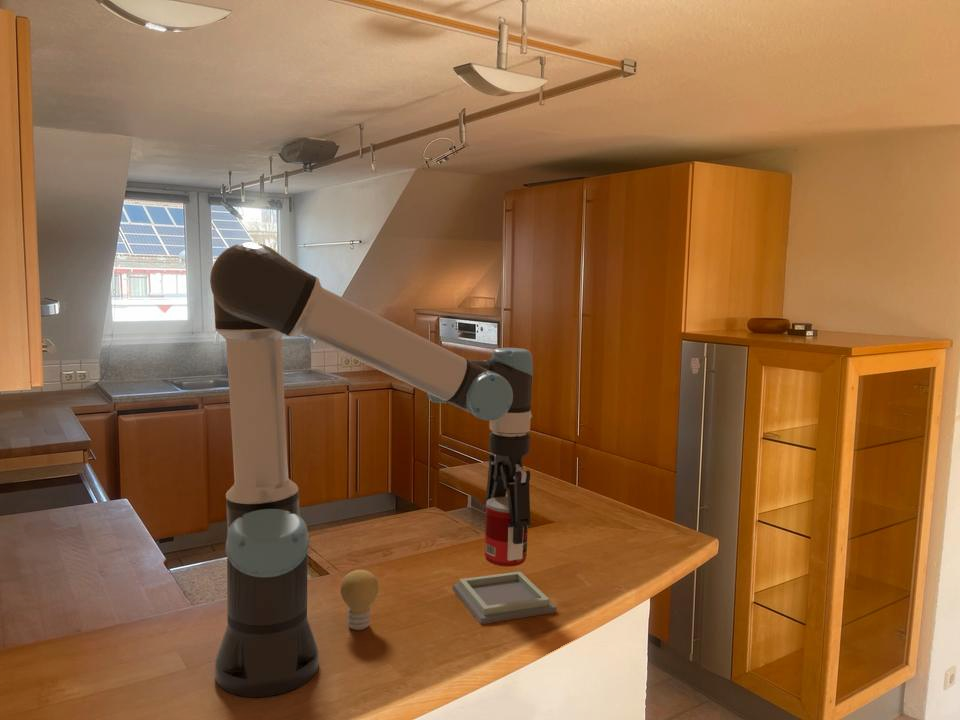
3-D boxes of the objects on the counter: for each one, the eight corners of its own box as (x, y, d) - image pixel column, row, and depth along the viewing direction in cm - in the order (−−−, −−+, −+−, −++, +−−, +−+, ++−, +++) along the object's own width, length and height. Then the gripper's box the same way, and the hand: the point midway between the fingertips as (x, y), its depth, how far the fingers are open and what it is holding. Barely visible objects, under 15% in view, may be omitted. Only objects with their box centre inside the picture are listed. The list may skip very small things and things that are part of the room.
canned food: (523, 569, 131) (525, 511, 130) (480, 564, 132) (482, 506, 131) (528, 553, 138) (531, 498, 137) (488, 549, 140) (490, 494, 139)
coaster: (480, 624, 127) (481, 612, 126) (452, 588, 140) (452, 577, 140) (556, 612, 132) (556, 600, 132) (521, 579, 146) (522, 568, 146)
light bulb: (363, 614, 129) (364, 560, 127) (384, 627, 124) (386, 572, 123) (332, 625, 124) (333, 570, 123) (354, 639, 120) (355, 582, 118)
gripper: (553, 443, 124) (548, 569, 127) (506, 419, 143) (502, 529, 146) (514, 446, 121) (509, 574, 124) (470, 421, 141) (467, 533, 143)
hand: (505, 550), depth 135 cm, fingers closed on canned food, 8 cm apart
